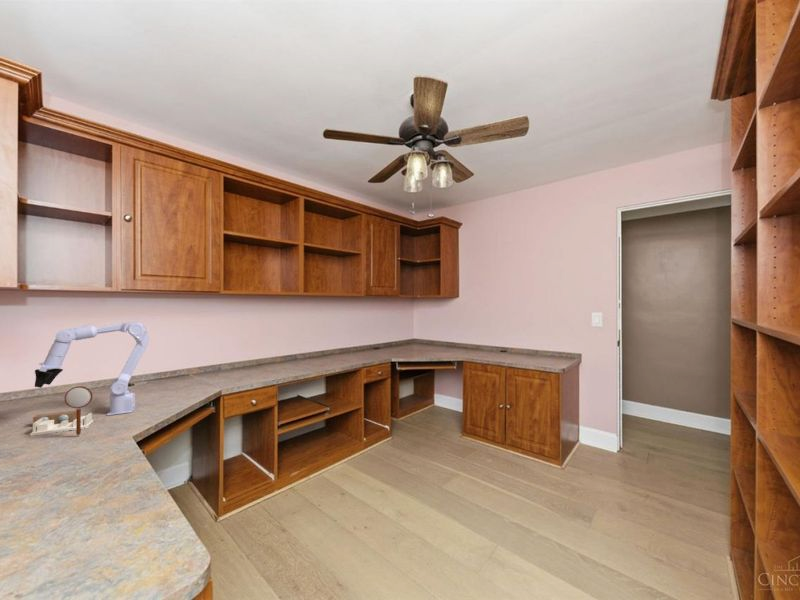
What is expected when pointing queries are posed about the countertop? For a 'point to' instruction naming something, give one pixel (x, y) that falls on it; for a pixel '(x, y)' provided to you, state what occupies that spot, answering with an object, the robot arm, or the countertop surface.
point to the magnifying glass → (78, 402)
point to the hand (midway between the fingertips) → (42, 385)
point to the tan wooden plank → (57, 416)
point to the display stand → (59, 425)
